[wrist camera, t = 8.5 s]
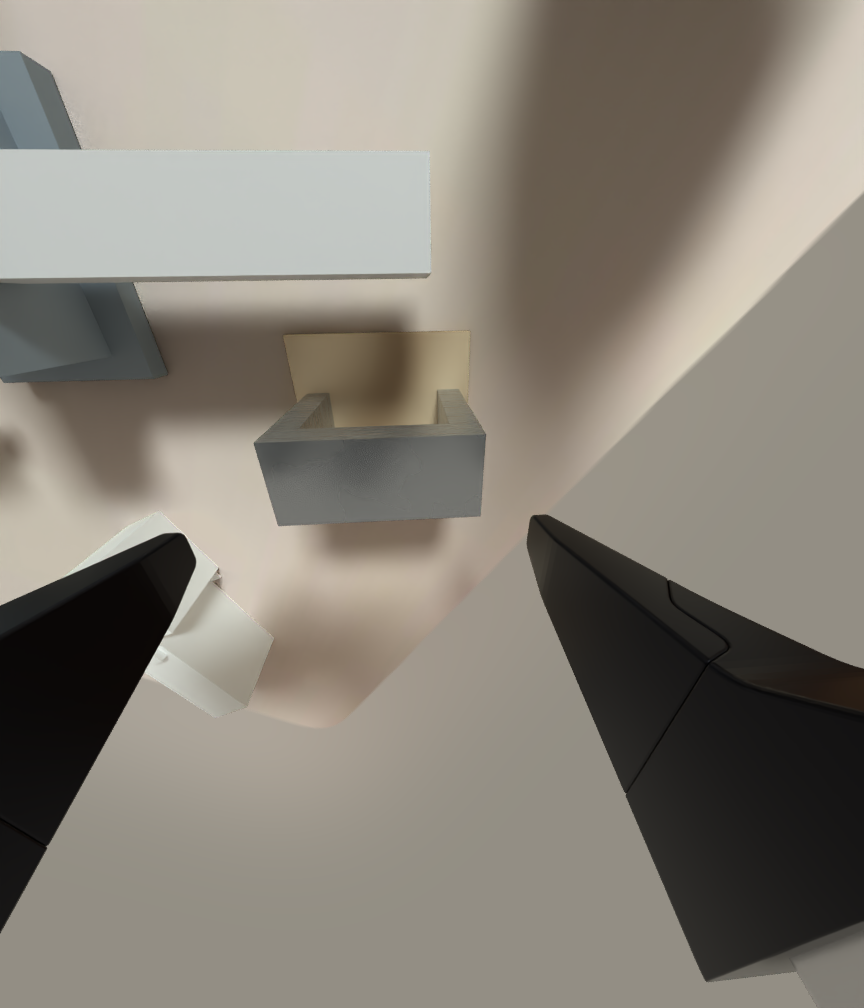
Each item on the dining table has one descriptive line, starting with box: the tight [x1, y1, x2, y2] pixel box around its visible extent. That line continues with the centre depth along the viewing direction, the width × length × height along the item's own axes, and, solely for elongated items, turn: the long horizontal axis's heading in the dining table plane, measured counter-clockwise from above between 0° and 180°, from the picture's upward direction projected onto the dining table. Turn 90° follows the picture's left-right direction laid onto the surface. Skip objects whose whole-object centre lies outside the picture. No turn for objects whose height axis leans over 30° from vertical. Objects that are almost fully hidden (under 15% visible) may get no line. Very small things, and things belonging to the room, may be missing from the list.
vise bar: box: [0, 51, 431, 383], centre depth 10 cm, size 18×9×7 cm, turn 91°
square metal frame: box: [254, 389, 486, 526], centre depth 14 cm, size 3×7×6 cm, turn 91°
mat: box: [283, 331, 470, 428], centre depth 17 cm, size 8×8×1 cm
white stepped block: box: [61, 511, 274, 718], centre depth 19 cm, size 15×11×6 cm
